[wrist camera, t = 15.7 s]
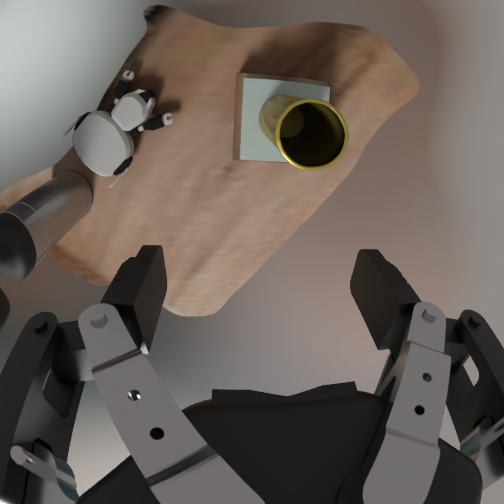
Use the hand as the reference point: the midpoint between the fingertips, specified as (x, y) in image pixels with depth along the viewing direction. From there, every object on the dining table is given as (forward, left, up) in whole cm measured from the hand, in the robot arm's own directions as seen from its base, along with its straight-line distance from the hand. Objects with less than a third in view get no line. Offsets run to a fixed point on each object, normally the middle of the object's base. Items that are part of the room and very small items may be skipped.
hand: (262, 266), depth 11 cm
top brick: (+4, +4, -28) cm, 28 cm away
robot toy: (-20, +3, -32) cm, 38 cm away
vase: (+4, +4, -24) cm, 25 cm away
